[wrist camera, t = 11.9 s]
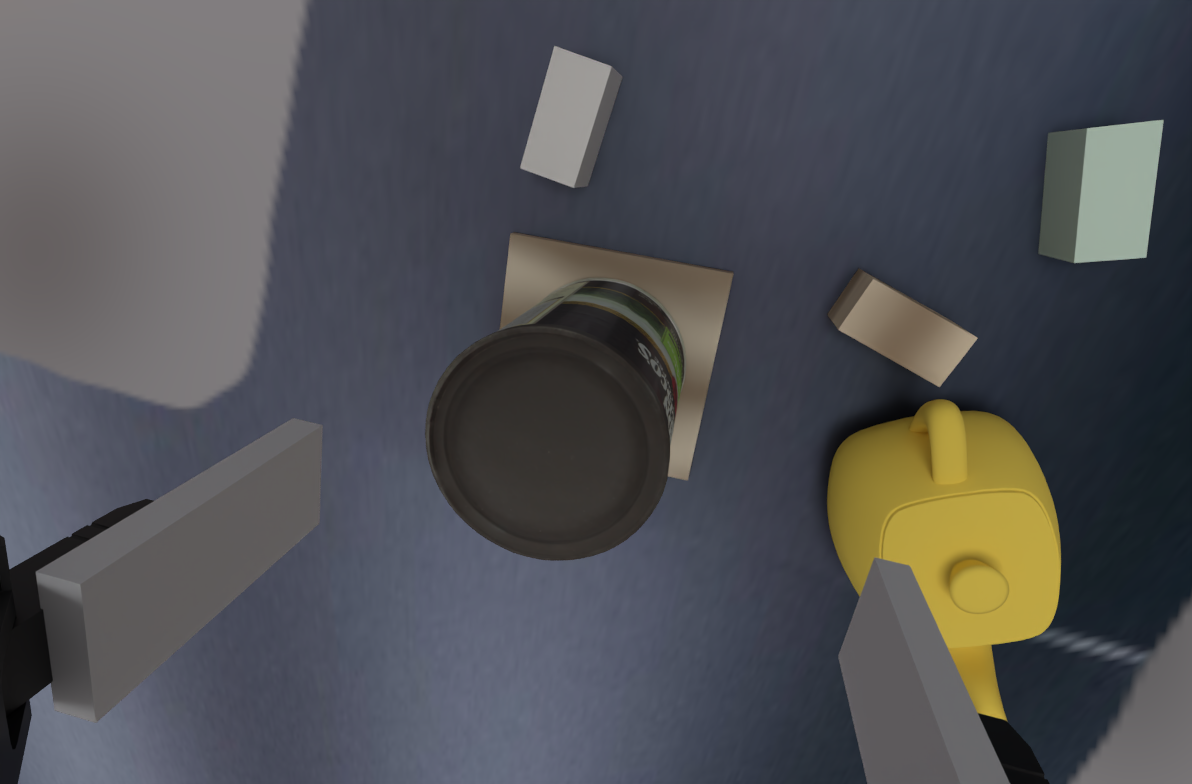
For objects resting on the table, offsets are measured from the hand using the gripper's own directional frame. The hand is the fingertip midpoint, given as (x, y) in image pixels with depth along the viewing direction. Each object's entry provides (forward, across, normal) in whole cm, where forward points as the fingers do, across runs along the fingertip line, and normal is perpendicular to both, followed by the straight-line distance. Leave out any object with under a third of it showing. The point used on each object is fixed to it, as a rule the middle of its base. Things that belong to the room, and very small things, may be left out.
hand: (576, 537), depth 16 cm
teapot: (+26, +17, -8) cm, 32 cm away
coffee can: (+25, -3, -4) cm, 26 cm away
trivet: (+26, -3, -4) cm, 26 cm away
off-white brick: (+26, -7, +9) cm, 29 cm away
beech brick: (+26, +12, +2) cm, 29 cm away
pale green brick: (+26, +19, +10) cm, 34 cm away
